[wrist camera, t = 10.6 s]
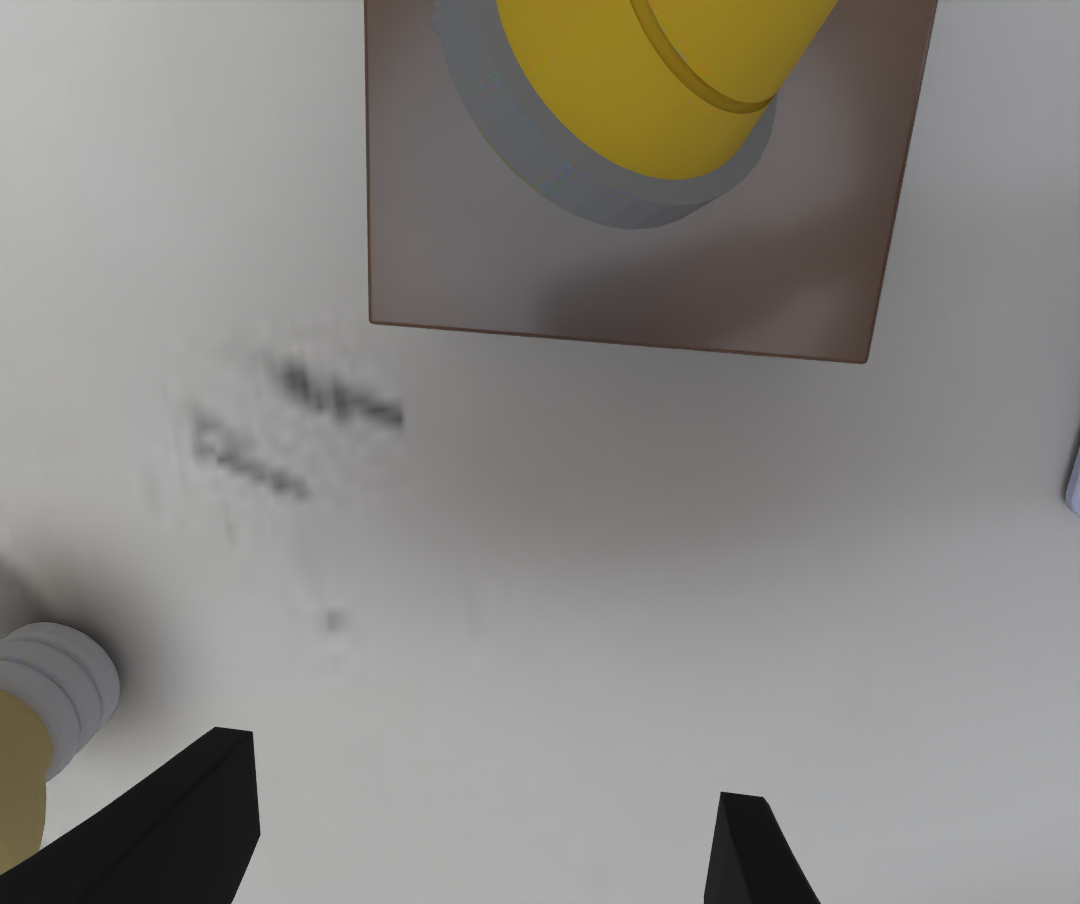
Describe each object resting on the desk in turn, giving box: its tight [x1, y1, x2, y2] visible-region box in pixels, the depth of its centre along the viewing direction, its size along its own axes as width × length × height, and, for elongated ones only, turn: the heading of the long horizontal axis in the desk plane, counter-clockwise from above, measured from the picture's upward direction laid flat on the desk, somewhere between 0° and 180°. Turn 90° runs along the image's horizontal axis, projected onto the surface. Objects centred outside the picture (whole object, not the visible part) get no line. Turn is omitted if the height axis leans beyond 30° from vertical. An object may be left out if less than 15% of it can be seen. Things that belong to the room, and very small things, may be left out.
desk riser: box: [364, 0, 938, 364], centre depth 16 cm, size 10×12×4 cm
